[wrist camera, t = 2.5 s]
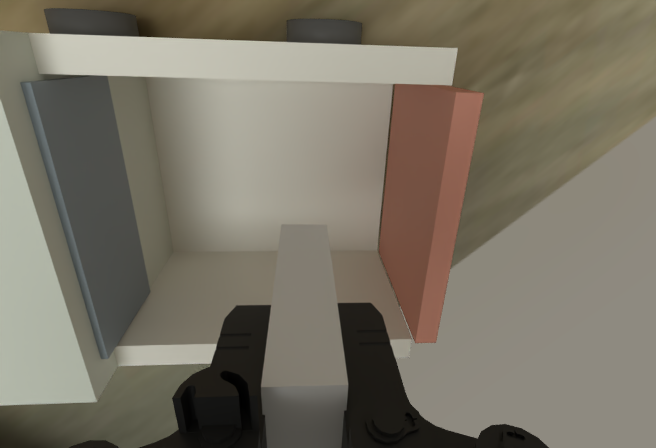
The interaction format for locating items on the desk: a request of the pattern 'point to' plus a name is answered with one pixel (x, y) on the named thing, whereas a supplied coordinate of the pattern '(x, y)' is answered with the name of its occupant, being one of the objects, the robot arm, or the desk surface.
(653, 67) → the desk surface
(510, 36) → the desk surface
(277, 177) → the truck
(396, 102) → the panel
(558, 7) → the desk surface
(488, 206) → the desk surface
